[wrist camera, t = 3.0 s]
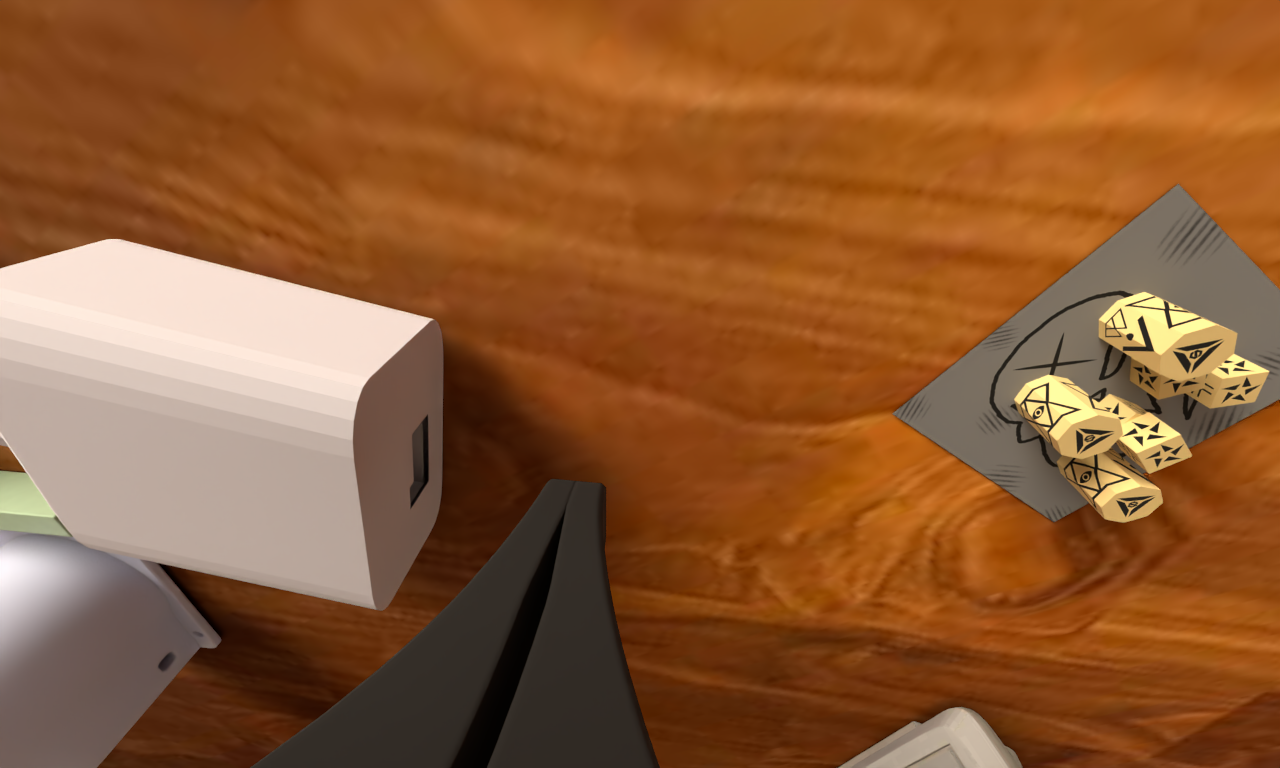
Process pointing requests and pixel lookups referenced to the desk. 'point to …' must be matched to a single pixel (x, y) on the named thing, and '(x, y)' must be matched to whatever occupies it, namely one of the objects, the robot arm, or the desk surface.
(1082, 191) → the desk surface
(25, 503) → the dock
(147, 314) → the charger
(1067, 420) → the dice set
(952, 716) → the digital clock
